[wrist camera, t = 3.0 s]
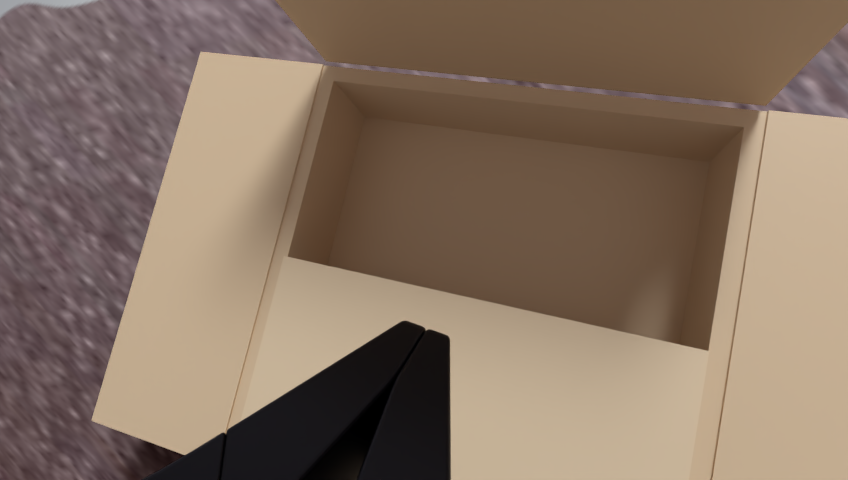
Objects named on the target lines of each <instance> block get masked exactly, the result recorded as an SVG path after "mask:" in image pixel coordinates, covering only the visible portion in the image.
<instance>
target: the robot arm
mask: <svg viewBox="0 0 848 480" xmlns="http://www.w3.org/2000/svg"><path fill="white" fill-rule="evenodd" d="M142 480H451V403H450V338H449V336H448V335H445V334H443V333H440V332H437V331H434V330H431V329H428V330H426V329H425V328H424V327H423V326H420V325H417V324H415V323H412V322H409V321H401V322H399V323H398V324H396V325H395V326H393V327H391V328H390V329H388V330H386V331H385V332H383V333H382V334H380V335H378V336H377V337H375V338H374V339H372V340H370V341H369V342H367V343H366V344H364V345H362V346H361V347H359V348H358V349H356V350H354V351H353V352H351V353H350V354H348V355H346V356H345V357H343V358H341V359H340V360H338V361H337V362H335V363H333V364H332V365H330V366H329V367H327V368H325V369H324V370H322V371H321V372H319V373H317V374H316V375H314V376H313V377H311V378H309V379H308V380H306V381H304V382H303V383H301V384H300V385H298V386H296V387H295V388H293V389H292V390H290V391H288V392H287V393H285V394H284V395H282V396H280V397H279V398H277V399H276V400H274V401H272V402H271V403H269V404H267V405H266V406H264V407H263V408H261V409H259V410H258V411H256V412H255V413H253V414H251V415H250V416H248V417H247V418H245V419H243V420H242V421H240V422H239V423H237V424H235V425H234V426H232V427H231V428H229V429H228V430H227V433H224V432H223V433H220V434H219V435H217V436H216V437H214V438H212V439H211V440H209V441H208V442H206V443H204V444H203V445H201V446H200V447H198V448H196V449H194V450H193V451H191V452H189V453H188V454H186V455H184V456H183V457H181V458H179V459H178V460H176V461H174V462H172V463H171V464H169V465H167V466H166V467H164V468H162V469H160V470H159V471H157V472H155V473H153V474H151V475H149V476H147V477H145V478H144V479H142Z"/></svg>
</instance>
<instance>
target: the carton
mask: <svg viewBox="0 0 848 480" xmlns="http://www.w3.org/2000/svg"><path fill="white" fill-rule="evenodd" d="M401 321H409V322H412V323H415V324H417V325H420V326H423V327H424V328H425V329H426V330H428V329H431V330H434V331H437V332H440V333H443V334H445V335H448V336H449V338H450V403H451V480H848V119H847V118H838V117H828V116H818V115H809V114H799V113H789V112H780V111H770V110H769V111H768V112H766V111H756V110H746V109H737V108H727V107H718V106H708V105H698V104H689V103H679V102H669V101H660V100H650V99H641V98H631V97H621V96H612V95H602V94H592V93H583V92H573V91H564V90H554V89H544V88H535V87H525V86H515V85H506V84H496V83H487V82H477V81H467V80H458V79H448V78H438V77H429V76H419V75H410V74H400V73H390V72H381V71H371V70H361V69H352V68H342V67H333V66H324V65H323V64H315V63H305V62H295V61H285V60H276V59H266V58H256V57H247V56H237V55H227V54H218V53H208V52H201V53H200V56H199V59H198V63H197V66H196V70H195V73H194V76H193V80H192V83H191V86H190V90H189V93H188V97H187V100H186V103H185V107H184V110H183V113H182V117H181V120H180V124H179V127H178V130H177V134H176V137H175V140H174V144H173V147H172V151H171V154H170V157H169V161H168V164H167V167H166V171H165V174H164V178H163V181H162V184H161V188H160V191H159V194H158V198H157V201H156V205H155V208H154V211H153V215H152V218H151V221H150V225H149V228H148V232H147V235H146V238H145V242H144V245H143V248H142V252H141V255H140V259H139V262H138V265H137V269H136V272H135V275H134V279H133V282H132V286H131V289H130V292H129V296H128V299H127V302H126V306H125V309H124V313H123V316H122V319H121V323H120V326H119V329H118V333H117V336H116V340H115V343H114V346H113V350H112V353H111V356H110V360H109V363H108V367H107V370H106V373H105V377H104V380H103V383H102V387H101V390H100V394H99V397H98V400H97V404H96V407H95V410H94V414H93V417H92V421H94V422H96V423H99V424H102V425H104V426H107V427H110V428H113V429H115V430H118V431H121V432H123V433H126V434H129V435H131V436H134V437H137V438H140V439H142V440H145V441H148V442H150V443H153V444H156V445H158V446H161V447H164V448H167V449H169V450H172V451H175V452H177V453H180V454H183V455H186V454H188V453H189V452H191V451H193V450H194V449H196V448H198V447H200V446H201V445H203V444H204V443H206V442H208V441H209V440H211V439H212V438H214V437H216V436H217V435H219V434H220V433H223V432H224V433H227V430H228V429H229V428H231V427H232V426H234V425H235V424H237V423H239V422H240V421H242V420H243V419H245V418H247V417H248V416H250V415H251V414H253V413H255V412H256V411H258V410H259V409H261V408H263V407H264V406H266V405H267V404H269V403H271V402H272V401H274V400H276V399H277V398H279V397H280V396H282V395H284V394H285V393H287V392H288V391H290V390H292V389H293V388H295V387H296V386H298V385H300V384H301V383H303V382H304V381H306V380H308V379H309V378H311V377H313V376H314V375H316V374H317V373H319V372H321V371H322V370H324V369H325V368H327V367H329V366H330V365H332V364H333V363H335V362H337V361H338V360H340V359H341V358H343V357H345V356H346V355H348V354H350V353H351V352H353V351H354V350H356V349H358V348H359V347H361V346H362V345H364V344H366V343H367V342H369V341H370V340H372V339H374V338H375V337H377V336H378V335H380V334H382V333H383V332H385V331H386V330H388V329H390V328H391V327H393V326H395V325H396V324H398V323H399V322H401Z"/></svg>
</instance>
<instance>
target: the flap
mask: <svg viewBox="0 0 848 480" xmlns="http://www.w3.org/2000/svg"><path fill="white" fill-rule="evenodd" d="M275 1H276V2H277V3H278V4H279V5H280V6H281V8H282V9H283V10H284V11H285V12H286V14H287V15H288V16H289V17H290V18H291V20H292V21H293V22H294V23H295V24H296V26H297V27H298V28H299V29H300V30H301V32H302V33H303V34H304V35H305V36H306V38H307V39H308V40H309V41H310V42H311V44H312V45H313V46H314V47H315V48H316V50H317V51H318V52H319V53H320V54H321V56H322V57H323V58H324V59H325V60H326V61H329V62H339V63H349V64H359V65H369V66H379V67H388V68H398V69H408V70H418V71H428V72H438V73H448V74H458V75H468V76H477V77H487V78H497V79H507V80H517V81H527V82H537V83H547V84H557V85H566V86H576V87H586V88H596V89H606V90H616V91H626V92H636V93H646V94H656V95H665V96H675V97H685V98H695V99H705V100H715V101H725V102H735V103H745V104H754V105H764V106H766V105H767V104H768V103H769V102H770V101H771V100H772V99H773V98H774V97H775V96H776V95H777V94H778V93H779V92H780V91H781V90H782V89H783V88H784V87H785V86H786V85H787V84H788V83H789V82H790V81H791V80H792V79H793V78H794V77H795V76H796V74H797V73H798V72H799V71H800V70H801V69H802V68H803V67H804V66H805V65H806V64H807V63H808V62H809V61H810V60H811V59H812V58H813V57H814V56H815V55H816V54H817V53H818V52H819V51H820V50H821V49H822V48H823V47H824V46H825V45H826V44H827V43H828V42H829V41H830V40H831V39H832V38H833V37H834V36H835V35H836V34H837V33H838V32H839V31H840V30H841V29H842V28H843V27H844V26H845V25H846V24H847V23H848V0H275Z"/></svg>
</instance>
